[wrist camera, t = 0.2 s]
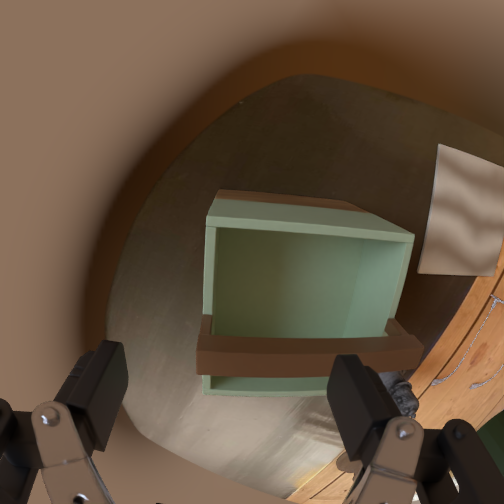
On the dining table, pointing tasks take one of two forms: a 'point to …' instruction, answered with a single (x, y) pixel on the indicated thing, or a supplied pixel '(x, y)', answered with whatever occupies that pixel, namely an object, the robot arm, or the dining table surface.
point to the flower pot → (494, 439)
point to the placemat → (464, 216)
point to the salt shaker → (400, 392)
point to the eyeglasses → (475, 385)
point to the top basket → (299, 297)
